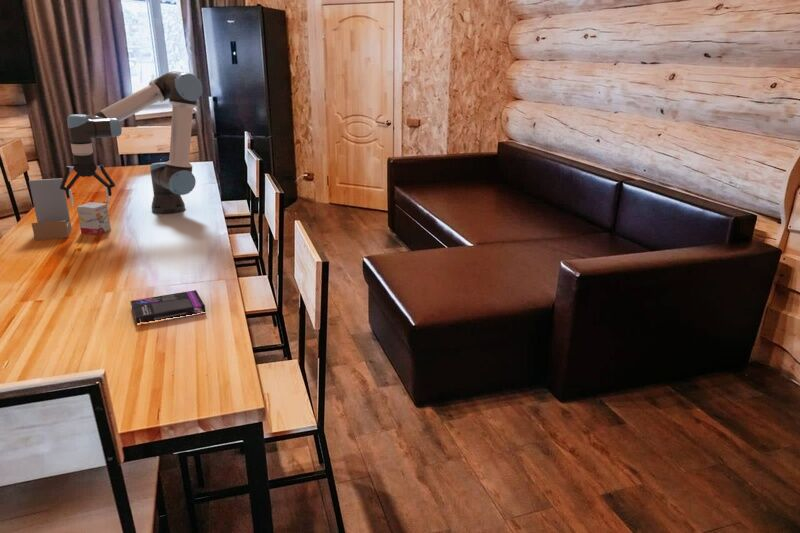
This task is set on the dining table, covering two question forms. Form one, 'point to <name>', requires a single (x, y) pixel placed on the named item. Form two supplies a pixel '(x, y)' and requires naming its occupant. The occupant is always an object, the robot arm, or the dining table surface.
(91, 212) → the ink box
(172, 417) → the dining table surface
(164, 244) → the dining table surface
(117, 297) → the dining table surface
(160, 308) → the box
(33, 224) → the grey magazine holder
